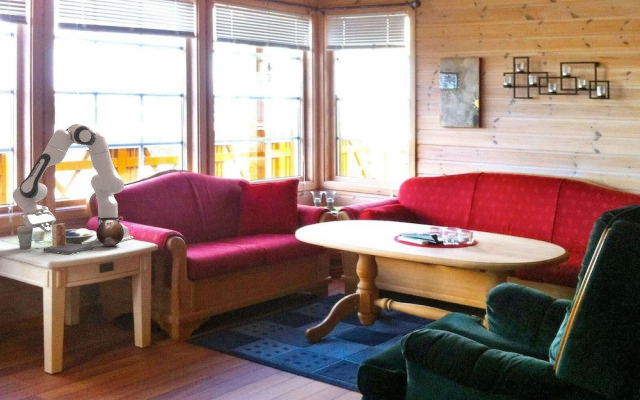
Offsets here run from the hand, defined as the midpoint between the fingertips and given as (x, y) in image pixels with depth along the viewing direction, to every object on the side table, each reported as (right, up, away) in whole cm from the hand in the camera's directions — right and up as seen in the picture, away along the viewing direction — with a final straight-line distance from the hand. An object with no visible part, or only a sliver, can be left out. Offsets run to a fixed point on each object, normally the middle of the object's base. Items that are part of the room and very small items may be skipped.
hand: (48, 231), depth 449 cm
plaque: (+7, -8, -2) cm, 11 cm away
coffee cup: (-13, -10, +1) cm, 16 cm away
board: (+12, -10, -4) cm, 16 cm away
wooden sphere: (+32, -9, +11) cm, 35 cm away
